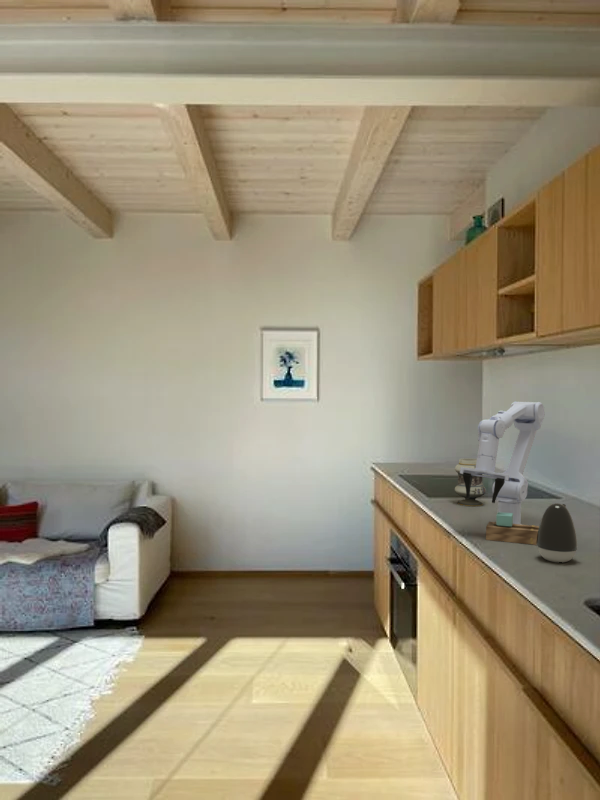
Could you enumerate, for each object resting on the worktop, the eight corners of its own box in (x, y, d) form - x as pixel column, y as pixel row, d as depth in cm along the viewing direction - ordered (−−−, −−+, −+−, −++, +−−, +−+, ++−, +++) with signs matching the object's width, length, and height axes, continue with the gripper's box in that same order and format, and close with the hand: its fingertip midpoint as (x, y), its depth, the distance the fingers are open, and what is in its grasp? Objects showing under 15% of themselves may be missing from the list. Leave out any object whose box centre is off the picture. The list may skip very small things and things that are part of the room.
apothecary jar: (464, 500, 255) (465, 456, 255) (491, 504, 247) (492, 459, 247) (448, 503, 247) (449, 458, 247) (475, 508, 238) (476, 461, 238)
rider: (496, 532, 188) (496, 515, 188) (497, 528, 193) (498, 512, 192) (511, 533, 186) (511, 516, 186) (512, 530, 191) (513, 513, 191)
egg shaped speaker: (582, 559, 166) (583, 503, 166) (569, 567, 159) (570, 508, 158) (544, 552, 173) (545, 498, 173) (530, 560, 165) (531, 503, 165)
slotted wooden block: (485, 539, 187) (486, 518, 187) (489, 534, 195) (489, 513, 195) (572, 548, 178) (572, 526, 178) (572, 542, 186) (572, 520, 185)
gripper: (461, 451, 192) (454, 495, 190) (510, 458, 186) (503, 503, 184) (464, 455, 199) (457, 497, 196) (511, 462, 193) (505, 505, 191)
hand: (480, 500), depth 191 cm, fingers open, 7 cm apart
